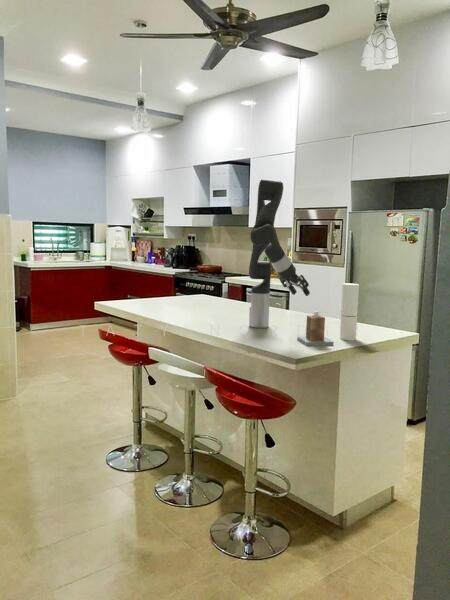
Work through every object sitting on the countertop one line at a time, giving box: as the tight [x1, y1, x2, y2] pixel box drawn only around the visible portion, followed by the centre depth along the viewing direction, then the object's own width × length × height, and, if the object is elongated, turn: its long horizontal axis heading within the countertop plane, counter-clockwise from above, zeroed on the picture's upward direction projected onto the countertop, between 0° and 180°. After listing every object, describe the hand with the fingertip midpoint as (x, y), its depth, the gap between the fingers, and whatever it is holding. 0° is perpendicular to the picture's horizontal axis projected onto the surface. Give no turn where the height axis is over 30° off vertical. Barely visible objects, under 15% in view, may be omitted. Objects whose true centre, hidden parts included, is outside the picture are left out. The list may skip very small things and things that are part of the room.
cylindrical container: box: [339, 282, 360, 341], centre depth 220 cm, size 7×7×25 cm
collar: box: [305, 314, 326, 341], centre depth 212 cm, size 6×6×10 cm
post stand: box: [296, 311, 335, 347], centre depth 212 cm, size 12×12×14 cm
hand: (301, 294), depth 212 cm, fingers open, 8 cm apart
